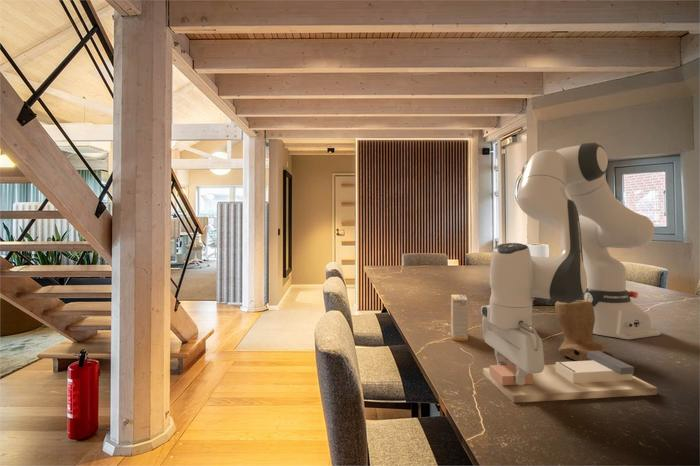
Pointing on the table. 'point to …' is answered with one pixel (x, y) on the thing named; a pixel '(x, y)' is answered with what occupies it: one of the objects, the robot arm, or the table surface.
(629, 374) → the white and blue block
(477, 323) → the table surface
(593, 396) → the holder board
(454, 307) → the supplement box
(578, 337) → the brown suede boot
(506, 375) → the pink flat block
